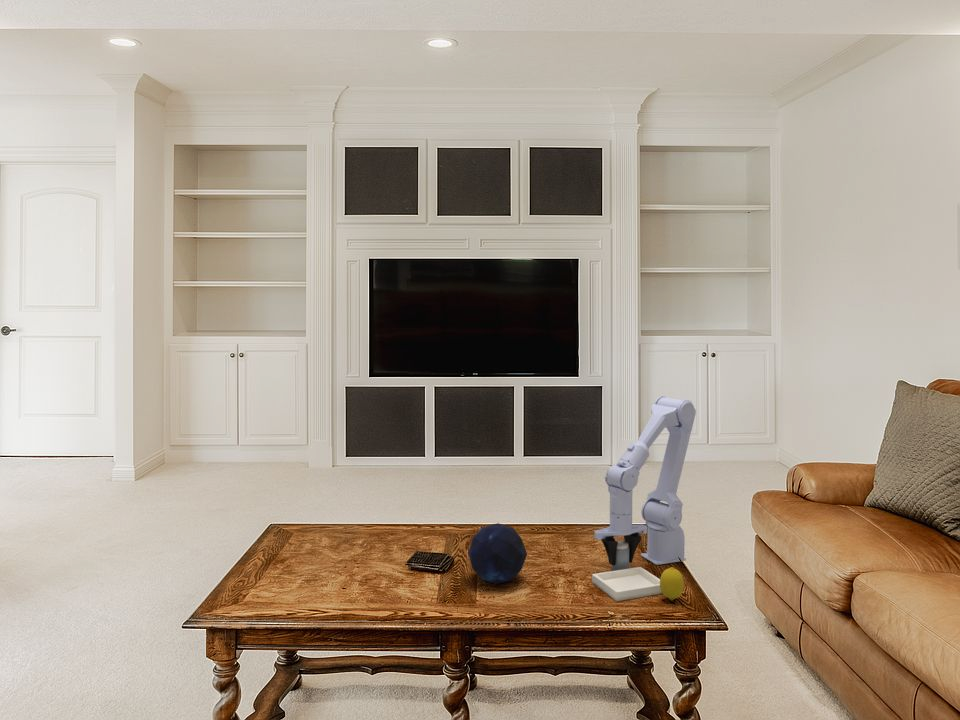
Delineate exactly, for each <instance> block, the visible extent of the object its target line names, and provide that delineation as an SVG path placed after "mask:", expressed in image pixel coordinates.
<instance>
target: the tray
mask: <svg viewBox="0 0 960 720" xmlns="http://www.w3.org/2000/svg"><path fill="white" fill-rule="evenodd" d="M591 583H592V584H593V585H594V586H595V587H597V588H599V590H601V592H604V593H605V594H606V595H608V596H609V597H610V598H611V599H613V600H614V601H615V602H620V601H627V600H632V599H639V598H645V597H651V596H657V595H661V594H663V593H662V591H661V589H660V578H658V577H657V576H656V575H653V573H651V572H649V571H648V570H646V569H645V568H643V567H641V566H637V567H629V569H623V570H616V571H613V570H610V571H604V572H599V573H592V574H591ZM663 595H664V594H663Z"/></svg>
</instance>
